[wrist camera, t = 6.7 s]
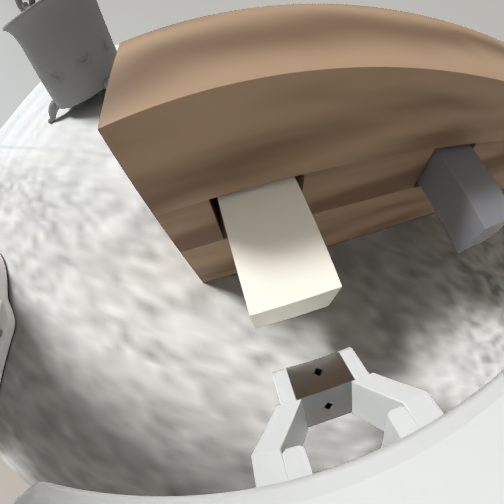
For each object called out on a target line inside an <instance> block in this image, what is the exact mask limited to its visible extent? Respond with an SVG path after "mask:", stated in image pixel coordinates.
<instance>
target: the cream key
mask: <svg viewBox="0 0 504 504" xmlns="http://www.w3.org/2000/svg"><path fill="white" fill-rule="evenodd" d="M217 199H218V203H219V206H220V210H221V214H222V218H223V221H224V225H225V229H226V232H227V236H228V240H229V243H230V247H231V251H232V254H233V258H234V262H235V265H236V269H237V273H238V276H239V280H240V283H241V287H242V290H243V294H244V297H245V301H246V304H247V308H248V311H249V315H250V317H251V320H252V322H253V324H254V326H255V328H256V329H257V328H260V327H264V326H267V325H270V324H274V323H277V322H280V321H283V320H287V319H290V318H293V317H296V316H299V315H302V314H306V313H309V312H312V311H315V310H318V309H321V308H324V307H327V306H329V304H330V303H331V302H332V300H333V299H334V297H335V296H336V295H337V293H338V292H339V290H340V289H341V288H342V285H341V282H340V280H339V277H338V275H337V272H336V270H335V267H334V265H333V262H332V260H331V257H330V255H329V253H328V250H327V248H326V245H325V243H324V241H323V238H322V236H321V234H320V231H319V229H318V227H317V224H316V222H315V220H314V218H313V215H312V213H311V211H310V209H309V206H308V204H307V202H306V200H305V198H304V196H303V193H302V191H301V189H300V187H299V185H298V183H297V181H296V178H295V176H294V177H290V178H286V179H282V180H278V181H274V182H270V183H266V184H263V185H259V186H255V187H251V188H248V189H244V190H240V191H237V192H233V193H230V194H226V195H223V196H219V197H217Z"/></svg>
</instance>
